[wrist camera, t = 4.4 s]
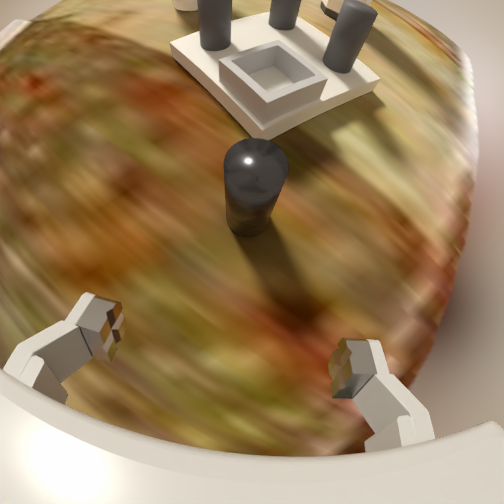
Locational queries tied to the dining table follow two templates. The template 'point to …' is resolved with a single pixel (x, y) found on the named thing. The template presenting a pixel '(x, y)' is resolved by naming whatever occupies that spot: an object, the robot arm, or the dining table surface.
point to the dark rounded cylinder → (252, 184)
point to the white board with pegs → (277, 62)
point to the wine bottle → (336, 6)
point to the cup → (185, 5)
